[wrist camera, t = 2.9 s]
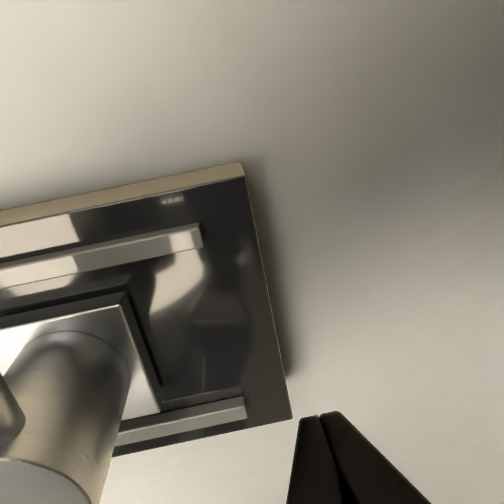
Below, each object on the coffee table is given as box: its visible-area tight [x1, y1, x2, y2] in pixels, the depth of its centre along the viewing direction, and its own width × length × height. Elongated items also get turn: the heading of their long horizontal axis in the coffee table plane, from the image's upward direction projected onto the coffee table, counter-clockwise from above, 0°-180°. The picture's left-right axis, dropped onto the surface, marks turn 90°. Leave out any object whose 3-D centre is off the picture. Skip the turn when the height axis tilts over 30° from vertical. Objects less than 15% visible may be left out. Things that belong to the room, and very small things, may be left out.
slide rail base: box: [0, 162, 293, 457], centre depth 13 cm, size 9×18×2 cm, turn 101°
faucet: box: [0, 292, 163, 504], centre depth 9 cm, size 7×4×5 cm, turn 10°
